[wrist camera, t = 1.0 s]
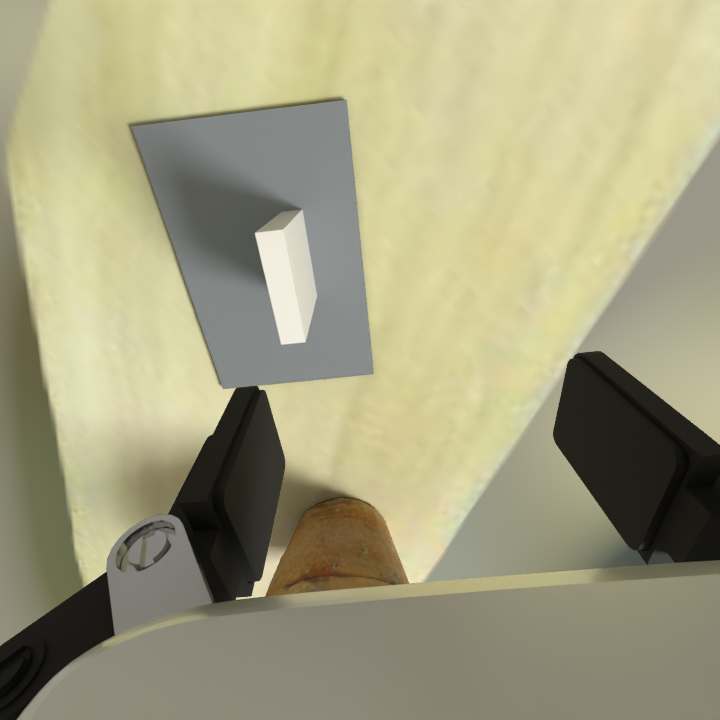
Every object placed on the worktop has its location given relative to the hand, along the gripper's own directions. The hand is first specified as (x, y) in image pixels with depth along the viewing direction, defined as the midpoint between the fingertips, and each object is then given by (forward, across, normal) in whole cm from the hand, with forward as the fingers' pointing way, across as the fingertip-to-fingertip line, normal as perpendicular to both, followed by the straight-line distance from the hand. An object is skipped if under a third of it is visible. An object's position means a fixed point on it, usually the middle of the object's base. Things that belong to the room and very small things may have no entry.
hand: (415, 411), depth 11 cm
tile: (+22, +6, 0) cm, 22 cm away
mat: (+22, +9, +1) cm, 24 cm away
